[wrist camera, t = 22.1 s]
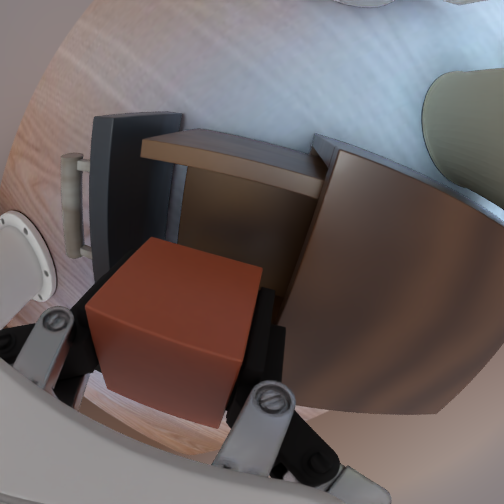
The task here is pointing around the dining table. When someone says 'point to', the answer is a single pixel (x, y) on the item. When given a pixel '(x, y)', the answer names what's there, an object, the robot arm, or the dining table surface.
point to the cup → (381, 0)
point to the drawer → (191, 195)
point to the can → (468, 130)
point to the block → (175, 328)
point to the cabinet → (390, 290)
